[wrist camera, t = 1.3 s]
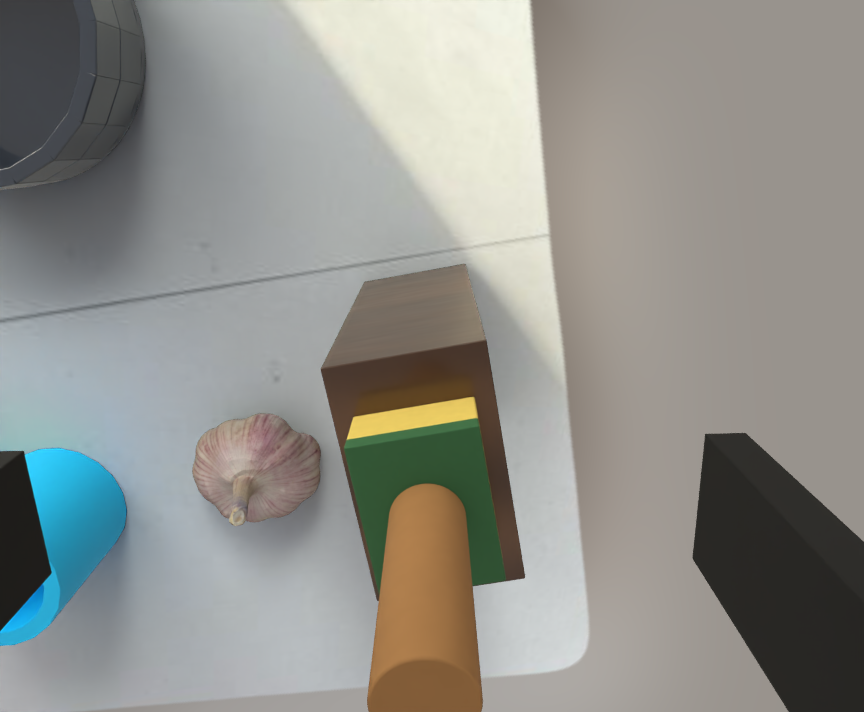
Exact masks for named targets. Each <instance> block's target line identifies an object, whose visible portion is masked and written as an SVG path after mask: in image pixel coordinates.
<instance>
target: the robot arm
mask: <svg viewBox="0 0 864 712" xmlns="http://www.w3.org/2000/svg"><path fill="white" fill-rule="evenodd" d="M693 560H694V562H695V563H696V565H697V566H698V568H699V569H700V571H701V573H702V574H703V576H704V577H705V579H706V581H707V582H708V584H709V585H710V587H711V589H712V590H713V591H714V593H715V595H716V597H717V598H718V600H719V601H720V603H721V605H722V606H723V608H724V609H725V611H726V612H727V614H728V616H729V617H730V619H731V620H732V622H733V624H734V625H735V627H736V628H737V630H738V632H739V633H740V634H741V636H742V638H743V639H744V641H745V643H746V644H747V646H748V647H749V649H750V651H751V652H752V654H753V655H754V657H755V658H756V660H757V662H758V663H759V665H760V667H761V668H762V670H763V671H764V673H765V675H766V676H767V678H768V679H769V681H770V683H771V684H772V686H773V687H774V689H775V691H776V692H777V694H778V695H779V697H780V698H781V700H782V702H783V703H784V705H785V706H786V708H787V710H788V711H789V712H864V542H863V541H862V540H861V539H860V538H859V537H858V536H857V535H856V534H855V533H853V532H852V531H851V530H850V529H849V528H848V527H847V526H846V525H845V524H844V523H843V522H841V521H840V520H839V519H838V518H837V517H836V516H835V515H834V514H833V513H832V512H831V511H830V510H828V509H827V508H826V507H825V506H824V505H823V504H822V503H821V502H820V501H819V500H818V499H816V498H815V497H814V496H813V495H812V494H811V493H810V492H809V491H808V490H807V489H806V488H805V487H804V486H802V485H801V484H800V483H799V482H798V481H797V480H796V479H795V478H793V476H792V475H791V474H789V473H788V472H787V471H786V470H785V469H784V468H783V467H782V466H781V465H780V464H779V463H777V462H776V461H775V460H774V459H773V458H772V457H771V456H770V455H769V454H768V453H767V452H766V451H764V450H763V449H762V448H761V447H760V446H759V445H758V444H757V443H756V442H754V440H753V439H751V438H750V437H749V436H748V435H747V434H746V433H730V434H705V442H704V452H703V462H702V472H701V481H700V491H699V501H698V510H697V521H696V530H695V540H694V549H693ZM51 574H52V571H51V567H50V563H49V558H48V554H47V550H46V545H45V541H44V537H43V532H42V528H41V524H40V519H39V515H38V511H37V506H36V502H35V498H34V493H33V489H32V485H31V480H30V476H29V472H28V467H27V463H26V459H25V454H24V451H1V452H0V631H1V630H2V629H3V627H4V626H5V625H6V624H7V623H8V622H9V621H10V620H11V619H12V617H13V616H14V615H15V614H16V613H17V612H18V611H19V610H20V608H21V607H22V606H23V605H24V604H25V603H26V602H27V601H28V599H29V598H30V597H31V596H32V595H33V594H34V593H35V592H36V590H37V589H38V588H39V587H40V586H41V585H42V584H43V583H44V581H45V580H46V579H47V578H48V577H49V576H50V575H51Z"/></svg>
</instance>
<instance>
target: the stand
mask: <svg viewBox="0 0 864 712" xmlns="http://www.w3.org/2000/svg"><path fill="white" fill-rule="evenodd" d="M321 373H322V377H323V381H324V385H325V389H326V393H327V397H328V402H329V406H330V410H331V414H332V418H333V422H334V426H335V430H336V434H337V438H338V443H339V447H340V451H341V455H342V459H343V463H344V467H345V471H346V475H347V479H348V484H349V488H350V492H351V496H352V500H353V504H354V508H355V512H356V516H357V520H358V525H359V529H360V533H361V537H362V541H363V545H364V549H365V553H366V557H367V561H368V566H369V570H370V574H371V578H372V582H373V586H374V590H375V594H376V598H377V601H379V592H378V588H377V584H376V580H375V576H374V571H373V567H372V563H371V559H370V555H369V551H368V547H367V542H366V538H365V534H364V530H363V526H362V522H361V518H360V514H359V509H358V505H357V501H356V497H355V493H354V489H353V485H352V481H351V476H350V472H349V468H348V464H347V460H346V456H345V452H344V446H345V443H346V440H347V437H348V433H349V430H350V427H351V423H352V420H353V417H356V416H362V415H368V414H374V413H380V412H386V411H391V410H397V409H403V408H409V407H415V406H421V405H427V404H433V403H439V402H445V401H451V400H456V399H462V398H468V397H474V398H475V402H476V408H477V414H478V419H479V425H480V431H481V437H482V442H483V448H484V454H485V460H486V465H487V471H488V477H489V483H490V488H491V494H492V500H493V506H494V511H495V517H496V523H497V529H498V534H499V540H500V546H501V552H502V558H503V564H504V570H505V576H506V581H510V580H517V579H523V578H525V573H524V567H523V561H522V555H521V549H520V543H519V536H518V530H517V524H516V518H515V512H514V506H513V500H512V494H511V488H510V482H509V475H508V469H507V463H506V457H505V451H504V445H503V439H502V433H501V427H500V420H499V414H498V408H497V402H496V396H495V390H494V384H493V378H492V372H491V366H490V359H489V353H488V347H487V341H486V337H485V334H484V330H483V326H482V323H481V319H480V316H479V312H478V308H477V305H476V301H475V297H474V294H473V290H472V287H471V283H470V279H469V276H468V272H467V268H466V265H465V264H461V265H455V266H450V267H444V268H439V269H433V270H428V271H422V272H417V273H411V274H406V275H400V276H394V277H389V278H383V279H378V280H372V281H367V282H364V284H363V286H362V288H361V290H360V292H359V294H358V296H357V298H356V300H355V302H354V304H353V306H352V308H351V310H350V312H349V314H348V315H347V317H346V319H345V321H344V323H343V325H342V327H341V329H340V331H339V333H338V335H337V337H336V339H335V341H334V343H333V345H332V347H331V349H330V351H329V353H328V355H327V357H326V359H325V361H324V363H323V365H322V367H321ZM501 582H504V581H501ZM495 583H497V582H495ZM488 584H491V583H488ZM482 585H484V584H482ZM475 586H478V585H475Z"/></svg>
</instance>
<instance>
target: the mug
mask: <svg viewBox="0 0 864 712" xmlns="http://www.w3.org/2000/svg"><path fill="white" fill-rule="evenodd" d="M25 459H26V463H27V467H28V472H29V476H30V480H31V485H32V489H33V493H34V498H35V502H36V506H37V511H38V515H39V519H40V524H41V528H42V532H43V537H44V541H45V545H46V550H47V554H48V558H49V563H50V567H51V571H52V574H51V575H50V576H49V577H48V578H47V579H46V580H45V581H44V583H43V584H42V585H41V586H40V587H39V588H38V589H37V590H36V592H35V593H34V594H33V595H32V596H31V597H30V598H29V599H28V601H27V602H26V603H25V604H24V605H23V606H22V607H21V608H20V610H19V611H18V612H17V613H16V614H15V615H14V616H13V617H12V619H11V620H10V621H9V622H8V623H7V624H6V625H5V626H4V627H3V629H2V630H1V631H0V646H5V645H15V644H18V643H21V642H24V641H27V640H29V639H32V638H34V637H36V636H37V635H38V634H39V633H41V632H42V631H43V630H44V629H45V628H47V627H48V626H49V625H50V624H51V623H52V621H53V620H54V619H55V618H56V616H57V615H58V614H59V613H60V611H61V610H62V609H63V608H64V606H65V605H66V604H67V603H68V601H69V600H70V599H71V598H72V596H73V595H74V594H75V593H76V591H77V590H78V589H79V588H80V586H81V585H82V584H83V583H84V581H85V580H86V579H87V578H88V576H89V575H90V574H91V573H92V571H93V570H94V569H95V568H96V566H97V565H98V564H99V563H100V561H101V560H102V559H103V558H104V556H105V555H106V554H107V553H108V551H109V550H110V549H111V548H112V546H113V545H114V544H115V543H116V541H117V540H118V538H119V536H120V534H121V533H122V531H123V529H124V527H125V521H126V513H127V509H126V504H125V500H124V496H123V492H122V491H121V489H120V487H119V486H118V484H117V482H116V481H115V479H114V477H113V476H112V475H111V474H110V473H109V472H108V471H107V470H106V469H104V468H103V467H102V466H101V465H100V464H99V463H98V462H96V461H94V460H92V459H90V458H89V457H87V456H85V455H83V454H81V453H79V452H74V451H70V450H65V449H61V448H52V449H38V450H36V451H33V452H31V453H28V454H26V455H25Z"/></svg>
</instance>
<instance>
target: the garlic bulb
mask: <svg viewBox="0 0 864 712" xmlns="http://www.w3.org/2000/svg"><path fill="white" fill-rule="evenodd" d="M320 456H321V451H320V447H319V444H318V443H317V441H316V440H315V439H314V438H313V437H312V436H310V435H308V434H304V433H297V432H295V431H294V430H292V429H291V428H290V426H289V425H288V424H287V422H286V421H285V420H283V419H282V418H280V417H279V416H276V415H273V414H266V413H260V414H255V415H253V416H251V417H249V418H247V419H233V420H228V421H225V422H224V423H222V424H220V425H219V426H218V427H217V428H213V429H211V430H209V431H207V432H206V433H205V434H204V435H203V436H202V437H201V438H200V440H199V441H198V443H197V446H196V457H195V461H194V464H193V470H192V472H193V477H194V480H195V482H196V485H197V487H198V490H199V492H200V493H201V494H202V496H203V497H204V498H205V499H206V500H208V501H210V502H211V503H212V504H214V505H215V506H216V507H217V508H218V510H219V511H220V513H221V514H222V515H223V516H224V517H226V518H229V522H230V523H231V524H232V525H234V526H239V525H242V524H244V522H245V521H249V522H260V521H263V520H265V519H268V518H274V517H282V516H285V515H288V514H289V513H291V512H293V511H294V510H295V509H296V508H297V507H298V506H299V504H300V503H301V502H303V501H304V500H306V499H307V498H309V497H310V496H311V495H312V494H313V493H314V492H315V491H316V489H317V487H318V484H319V481H320V468H319V463H320Z"/></svg>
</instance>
